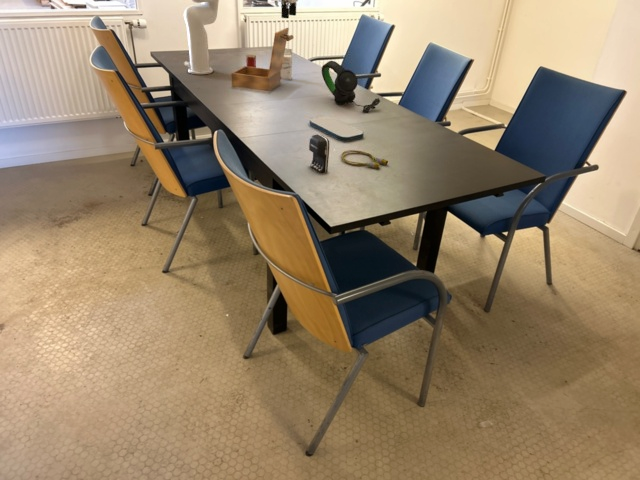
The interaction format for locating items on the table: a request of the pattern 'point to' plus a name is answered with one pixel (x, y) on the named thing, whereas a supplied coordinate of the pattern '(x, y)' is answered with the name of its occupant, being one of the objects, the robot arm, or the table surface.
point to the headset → (343, 85)
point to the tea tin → (251, 60)
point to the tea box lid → (278, 51)
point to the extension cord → (370, 164)
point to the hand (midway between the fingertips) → (288, 16)
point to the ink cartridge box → (287, 64)
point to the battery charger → (319, 153)
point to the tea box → (255, 78)
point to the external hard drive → (336, 128)
